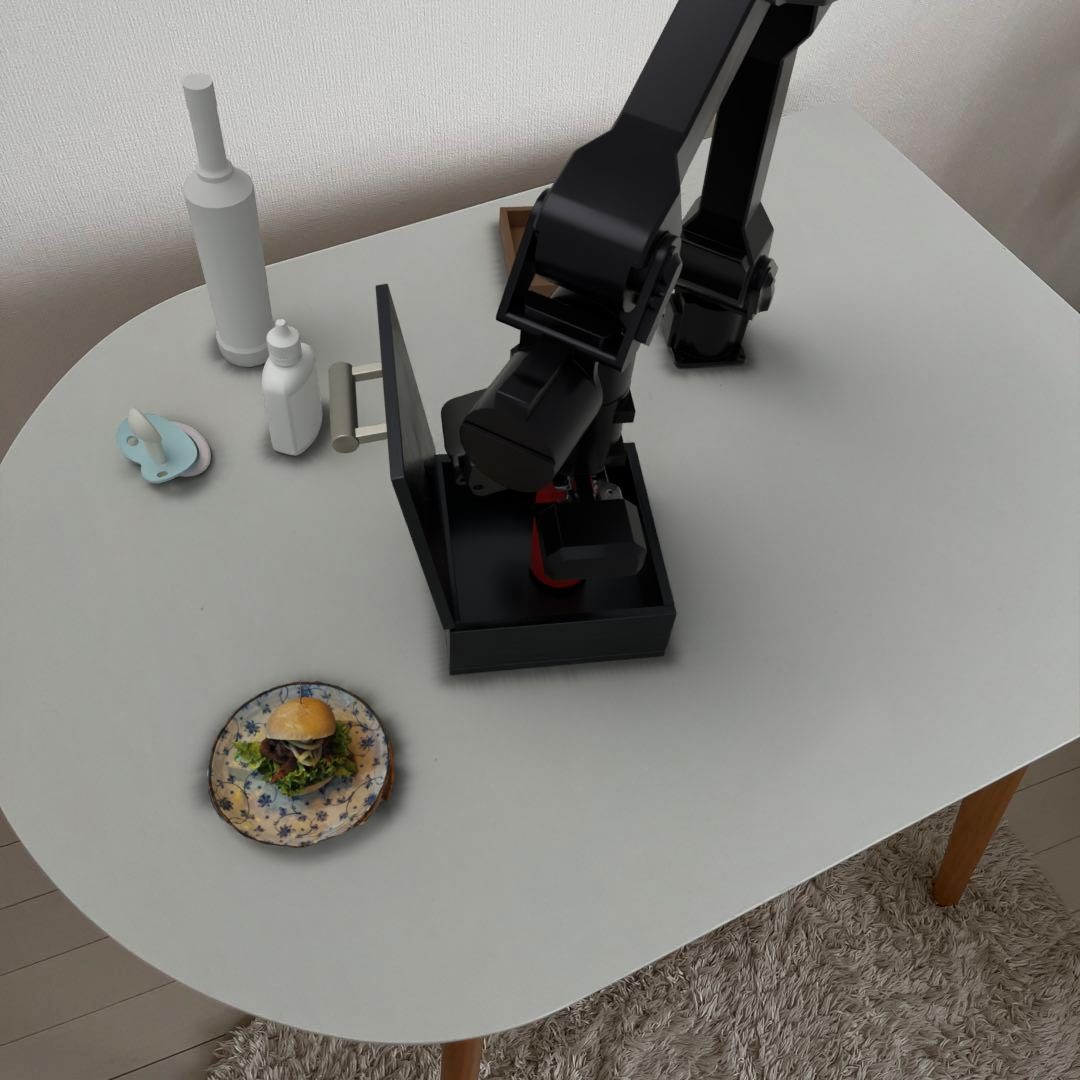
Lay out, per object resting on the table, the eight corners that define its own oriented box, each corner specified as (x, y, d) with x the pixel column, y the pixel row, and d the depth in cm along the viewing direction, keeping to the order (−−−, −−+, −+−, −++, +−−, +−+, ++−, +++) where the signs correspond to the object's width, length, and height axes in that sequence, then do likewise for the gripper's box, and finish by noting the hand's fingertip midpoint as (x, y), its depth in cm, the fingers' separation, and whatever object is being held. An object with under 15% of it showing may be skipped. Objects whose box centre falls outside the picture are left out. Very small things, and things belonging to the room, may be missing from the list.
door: (387, 282, 69) (318, 295, 69) (404, 477, 60) (324, 491, 60) (435, 449, 83) (377, 459, 83) (455, 628, 74) (390, 640, 74)
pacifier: (178, 415, 91) (112, 448, 88) (165, 359, 86) (94, 393, 84) (228, 468, 88) (161, 504, 86) (218, 414, 83) (146, 450, 81)
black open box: (625, 488, 90) (634, 441, 85) (664, 656, 81) (677, 613, 76) (431, 502, 88) (430, 454, 83) (449, 675, 79) (449, 633, 74)
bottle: (268, 374, 94) (219, 109, 74) (209, 362, 95) (145, 95, 75) (288, 333, 97) (247, 67, 77) (231, 321, 98) (175, 54, 78)
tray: (631, 224, 109) (635, 202, 107) (654, 302, 103) (658, 280, 101) (498, 229, 108) (499, 206, 106) (513, 308, 101) (514, 286, 99)
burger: (174, 810, 71) (149, 760, 65) (274, 666, 78) (259, 609, 72) (338, 890, 69) (327, 846, 63) (426, 734, 76) (424, 681, 70)
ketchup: (583, 536, 85) (599, 434, 75) (592, 585, 82) (611, 486, 72) (526, 541, 84) (535, 439, 74) (534, 590, 82) (544, 491, 72)
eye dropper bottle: (342, 429, 91) (330, 320, 82) (287, 464, 89) (267, 356, 79) (308, 400, 93) (292, 289, 83) (253, 433, 90) (230, 324, 81)
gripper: (436, 274, 71) (438, 436, 84) (466, 504, 60) (462, 650, 73) (607, 267, 73) (583, 427, 85) (665, 491, 62) (628, 636, 74)
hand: (562, 527), depth 79 cm, fingers closed on ketchup, 4 cm apart
